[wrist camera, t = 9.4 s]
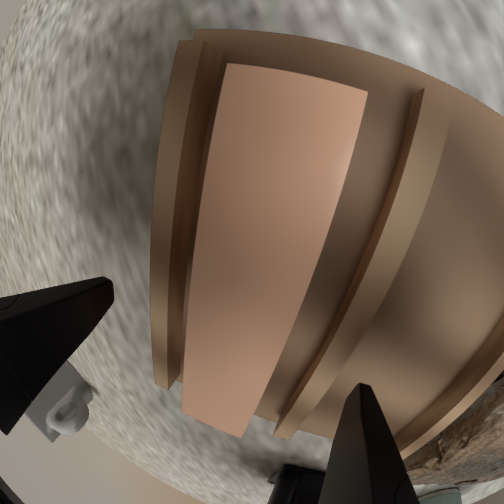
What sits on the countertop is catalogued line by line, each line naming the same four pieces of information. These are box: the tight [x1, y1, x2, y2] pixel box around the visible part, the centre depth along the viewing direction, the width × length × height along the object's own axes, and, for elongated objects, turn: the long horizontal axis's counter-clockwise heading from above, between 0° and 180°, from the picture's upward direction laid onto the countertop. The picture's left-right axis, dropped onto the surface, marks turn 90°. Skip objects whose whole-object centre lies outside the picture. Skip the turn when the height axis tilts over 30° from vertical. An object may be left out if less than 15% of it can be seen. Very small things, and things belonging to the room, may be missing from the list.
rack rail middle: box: [273, 87, 454, 440], centre depth 10 cm, size 18×1×2 cm, turn 168°
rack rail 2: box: [394, 315, 504, 460], centre depth 9 cm, size 18×1×2 cm, turn 168°
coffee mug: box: [24, 361, 93, 443], centre depth 25 cm, size 13×10×10 cm
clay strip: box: [182, 63, 368, 438], centre depth 11 cm, size 16×4×3 cm, turn 168°
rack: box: [176, 29, 504, 439], centre depth 11 cm, size 20×18×1 cm
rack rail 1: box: [150, 40, 223, 390], centre depth 12 cm, size 18×1×2 cm, turn 168°
